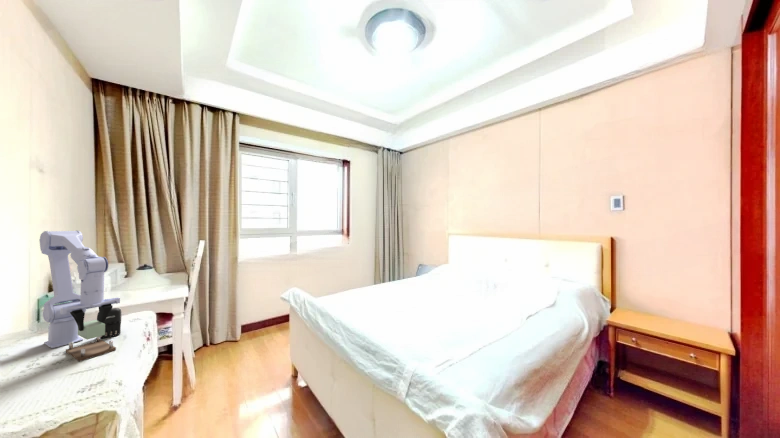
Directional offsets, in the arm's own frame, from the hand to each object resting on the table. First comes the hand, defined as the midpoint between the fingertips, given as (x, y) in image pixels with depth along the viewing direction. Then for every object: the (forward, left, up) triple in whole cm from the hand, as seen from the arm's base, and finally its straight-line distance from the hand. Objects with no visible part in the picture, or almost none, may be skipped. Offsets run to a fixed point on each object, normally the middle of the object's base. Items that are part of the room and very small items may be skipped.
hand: (91, 327), depth 97 cm
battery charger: (-11, +8, -9) cm, 16 cm away
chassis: (0, 0, -9) cm, 9 cm away
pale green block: (0, 0, -3) cm, 3 cm away
